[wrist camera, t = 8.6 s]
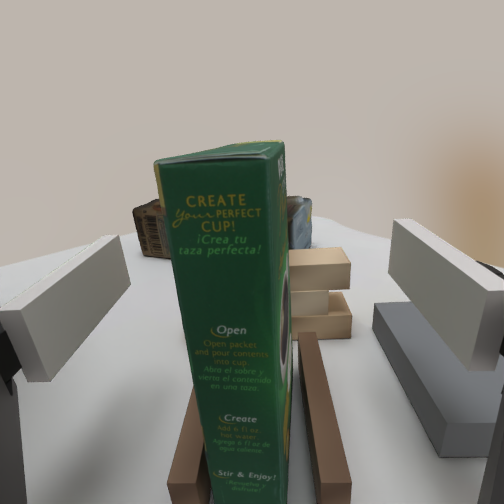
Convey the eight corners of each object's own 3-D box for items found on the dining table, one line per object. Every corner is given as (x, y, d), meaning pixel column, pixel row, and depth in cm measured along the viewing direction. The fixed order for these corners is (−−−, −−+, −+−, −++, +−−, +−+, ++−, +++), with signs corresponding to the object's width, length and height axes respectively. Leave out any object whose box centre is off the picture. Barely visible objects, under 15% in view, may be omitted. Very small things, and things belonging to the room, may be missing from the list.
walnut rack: (178, 526, 12) (166, 483, 11) (212, 369, 19) (207, 335, 18) (348, 527, 11) (351, 482, 10) (315, 366, 19) (315, 331, 18)
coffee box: (247, 366, 19) (224, 138, 14) (294, 368, 19) (288, 133, 14) (211, 521, 12) (136, 158, 7) (288, 532, 11) (270, 150, 6)
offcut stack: (186, 343, 21) (173, 272, 19) (195, 318, 24) (184, 254, 22) (350, 338, 21) (355, 264, 19) (340, 312, 23) (343, 246, 21)
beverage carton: (296, 277, 30) (294, 209, 27) (138, 259, 37) (125, 205, 35) (313, 246, 37) (313, 190, 34) (177, 236, 44) (168, 189, 41)
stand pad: (439, 457, 13) (447, 423, 12) (372, 327, 22) (374, 302, 21) (669, 455, 13) (692, 419, 12) (508, 323, 21) (516, 297, 20)
